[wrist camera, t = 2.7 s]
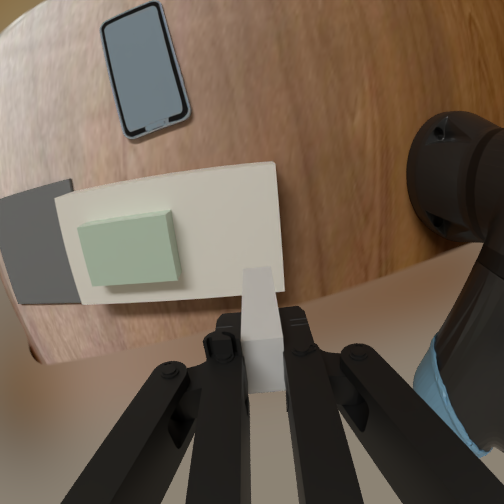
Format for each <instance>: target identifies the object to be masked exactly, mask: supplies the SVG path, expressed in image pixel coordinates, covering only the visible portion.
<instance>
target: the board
mask: <svg viewBox="0 0 504 504" xmlns="http://www.w3.org/2000/svg"><path fill="white" fill-rule="evenodd" d="M54 199H55V205H56V210H57V214H58V219H59V224H60V228H61V232H62V237H63V241H64V245H65V249H66V252H67V256H68V260H69V263H70V267H71V270H72V274H73V277H74V281H75V284H76V287H77V290H78V293H79V296H80V299H81V302H82V305H89V304H116V303H137V302H156V301H172V300H188V299H202V298H215V297H228V296H240V295H242V283H243V269H246V268H256V267H267V266H271V270H272V276H273V282H274V287H275V292H283V291H285V288H284V271H283V256H282V242H281V228H280V215H279V202H278V190H277V178H276V166H275V163H274V162H272V161H270V162H258V163H248V164H238V165H229V166H220V167H212V168H204V169H196V170H189V171H182V172H175V173H168V174H162V175H156V176H149V177H144V178H138V179H132V180H127V181H121V182H116V183H111V184H106V185H101V186H96V187H91V188H87V189H82V190H77V191H73V192H70V193H67V194H65V195H62V196H59V197H56V198H54ZM164 210H171V212H172V219H173V225H174V231H175V236H176V242H177V248H178V253H179V259H180V264H181V269H182V273H181V275H180V277H179V279H178V281H165V282H152V283H138V284H124V285H109V286H93V287H92V284H91V280H90V277H89V273H88V270H87V266H86V262H85V259H84V255H83V251H82V247H81V243H80V239H79V235H78V230H77V227H79V226H80V225H82V224H84V223H86V222H90V221H96V220H102V219H108V218H115V217H122V216H128V215H135V214H142V213H149V212H157V211H164Z"/></svg>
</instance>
